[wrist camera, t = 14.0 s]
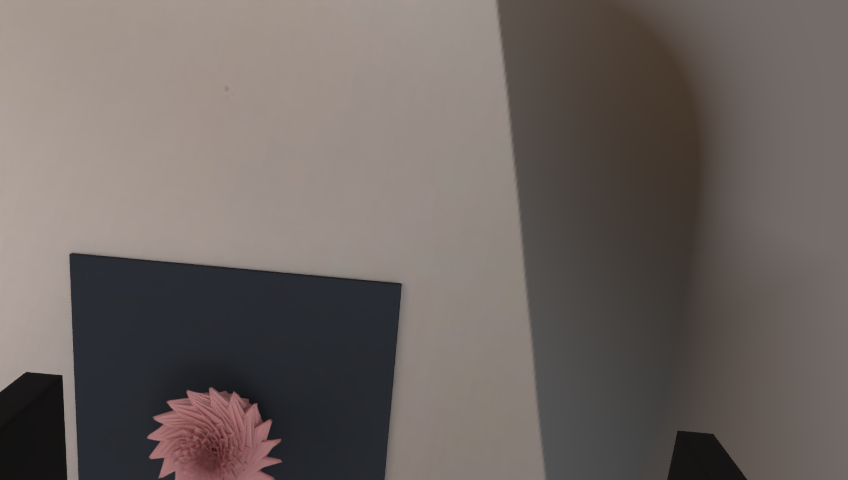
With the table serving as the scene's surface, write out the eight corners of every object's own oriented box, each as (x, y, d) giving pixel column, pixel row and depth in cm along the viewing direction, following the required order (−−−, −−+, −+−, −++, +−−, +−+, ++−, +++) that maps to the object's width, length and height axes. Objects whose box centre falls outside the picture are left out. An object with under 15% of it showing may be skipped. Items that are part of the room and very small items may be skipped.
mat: (401, 283, 42) (401, 285, 42) (377, 561, 47) (376, 564, 47) (71, 253, 42) (69, 254, 41) (83, 535, 47) (80, 538, 46)
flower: (310, 385, 43) (293, 432, 38) (271, 489, 45) (250, 547, 40) (189, 343, 43) (154, 384, 37) (155, 449, 45) (117, 503, 39)
